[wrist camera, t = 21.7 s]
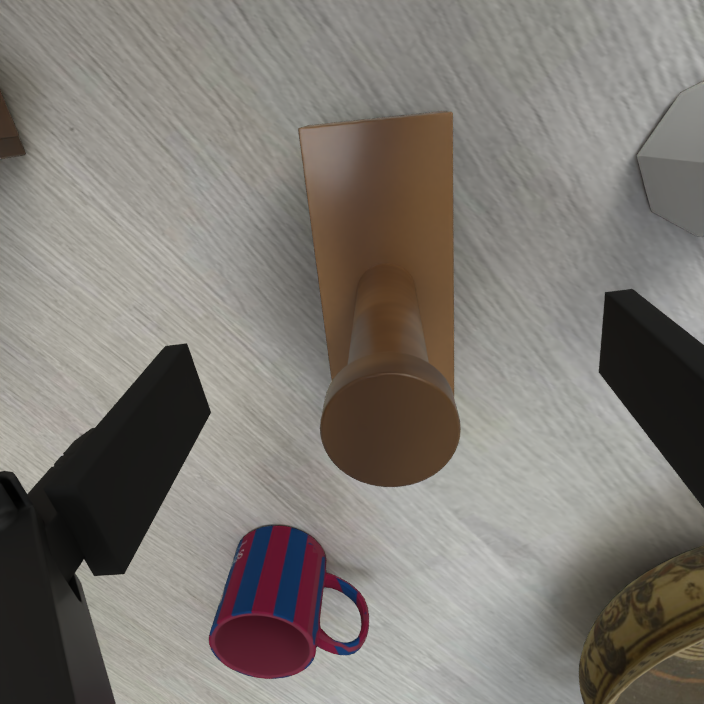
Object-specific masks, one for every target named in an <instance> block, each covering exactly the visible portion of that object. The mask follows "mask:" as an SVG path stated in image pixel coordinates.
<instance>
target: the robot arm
mask: <svg viewBox="0 0 704 704" xmlns="http://www.w3.org/2000/svg"><path fill="white" fill-rule="evenodd" d="M599 373H600V374H601V376H602V377H603V378H604V380H605V381H606V382H607V384H608V385H609V386H610V387H611V389H612V390H613V391H614V393H615V394H616V395H617V396H618V398H619V399H620V400H621V402H622V403H623V404H624V406H625V407H626V408H627V409H628V411H629V412H630V413H631V415H632V416H633V417H634V418H635V420H636V421H637V422H638V424H639V425H640V426H641V428H642V429H643V430H644V431H645V433H646V434H647V435H648V437H649V438H650V439H651V440H652V442H653V443H654V444H655V446H656V447H657V448H658V450H659V451H660V452H661V453H662V455H663V456H664V457H665V459H666V460H667V461H668V462H669V464H670V465H671V466H672V468H673V469H674V470H675V472H676V473H677V474H678V475H679V477H680V478H681V479H682V481H683V482H684V483H685V485H686V486H687V487H688V488H689V490H690V491H691V492H692V494H693V495H694V496H695V497H696V499H697V500H698V501H699V503H700V504H701V505H702V507H703V508H704V345H703V344H702V343H700V342H699V341H698V340H697V339H695V338H694V337H693V336H692V335H690V334H689V333H688V332H686V331H685V330H684V329H683V328H681V327H680V326H679V325H678V324H676V323H675V322H674V321H672V320H671V319H670V318H669V317H667V316H666V315H665V314H664V313H662V312H661V311H660V310H659V309H657V308H656V307H655V306H653V305H652V304H651V303H650V302H648V301H647V300H646V299H645V298H643V297H642V296H641V295H639V294H638V293H637V292H636V291H634V290H633V289H628V290H620V291H612V292H605V301H604V314H603V326H602V338H601V350H600V363H599ZM210 413H211V411H210V408H209V405H208V402H207V399H206V397H205V394H204V391H203V388H202V385H201V382H200V379H199V376H198V374H197V371H196V368H195V365H194V362H193V359H192V356H191V353H190V351H189V348H188V345H187V344H179V345H170V346H165V347H164V348H163V349H162V350H161V352H160V353H159V354H158V355H157V356H156V357H155V359H154V360H153V361H152V362H151V363H150V364H149V366H148V367H147V368H146V369H145V370H144V371H143V373H142V374H141V375H140V376H139V377H138V378H137V380H136V381H135V382H134V383H133V384H132V385H131V387H130V388H129V389H128V390H127V391H126V392H125V394H124V395H123V396H122V397H121V398H120V399H119V401H118V402H117V403H116V404H115V405H114V406H113V408H112V409H111V410H110V411H109V412H108V413H107V415H106V416H105V417H104V418H103V419H102V420H101V422H100V423H99V424H98V425H97V426H96V427H95V428H92V429H90V430H89V431H87V432H86V433H85V434H83V435H82V436H80V437H79V438H78V439H76V440H75V441H74V442H73V443H72V444H71V445H70V447H69V448H68V449H67V450H66V451H65V452H64V453H63V454H64V456H61V457H60V458H59V459H58V460H57V461H56V462H55V464H54V467H51V468H50V469H49V470H48V471H47V473H46V474H45V475H44V476H43V477H42V478H41V479H40V480H39V482H38V483H37V484H36V485H35V486H34V487H33V488H32V490H31V491H30V492H29V493H28V494H27V493H26V492H25V490H24V488H23V487H22V485H21V483H20V482H19V480H18V478H17V477H16V476H15V474H14V473H13V472H8V471H2V472H0V704H115V700H114V696H113V693H112V689H111V686H110V682H109V679H108V675H107V672H106V668H105V665H104V661H103V658H102V654H101V651H100V647H99V644H98V640H97V637H96V633H95V630H94V626H93V623H92V619H91V616H90V612H89V609H88V605H87V602H86V598H85V595H84V591H83V588H82V584H81V582H80V580H79V579H78V577H77V575H76V574H75V572H76V570H77V569H78V567H79V566H80V564H81V563H82V561H83V559H85V561H86V563H87V565H88V566H89V568H90V570H91V571H92V573H93V575H94V576H102V575H117V574H125V572H126V570H127V568H128V566H129V564H130V562H131V560H132V559H133V557H134V555H135V553H136V551H137V549H138V547H139V546H140V544H141V542H142V540H143V538H144V536H145V534H146V533H147V531H148V529H149V527H150V525H151V523H152V521H153V520H154V518H155V516H156V514H157V512H158V510H159V508H160V506H161V505H162V503H163V501H164V499H165V497H166V495H167V493H168V492H169V490H170V488H171V486H172V484H173V482H174V480H175V479H176V477H177V475H178V473H179V471H180V469H181V467H182V466H183V464H184V462H185V460H186V458H187V456H188V454H189V452H190V451H191V449H192V447H193V445H194V443H195V441H196V439H197V438H198V436H199V434H200V432H201V430H202V428H203V426H204V425H205V423H206V421H207V419H208V417H209V415H210Z"/></svg>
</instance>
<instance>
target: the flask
mask: <svg viewBox="0 0 704 704" xmlns="http://www.w3.org/2000/svg"><path fill="white" fill-rule="evenodd" d="M637 158H638V162H639V166H640V170H641V174H642V177H643V181H644V185H645V189H646V193H647V197H648V200H649V204H650V208H651V211H652V212H654V213H655V214H657V215H659V216H661V217H663V218H665V219H666V220H668V221H670V222H672V223H674V224H675V225H677V226H679V227H681V228H683V229H685V230H686V231H688V232H690V233H692V234H694V235H696V236H697V237H701V236H704V81H703V82H701V83H699V84H697V85H695V86H693V87H691V88H689V89H687V90H685V91H683V92H681V93H680V94H679V96H678V97H677V98H676V100H675V101H674V103H673V104H672V106H671V107H670V108H669V110H668V111H667V113H666V114H665V116H664V117H663V119H662V120H661V121H660V123H659V124H658V126H657V127H656V129H655V130H654V131H653V133H652V134H651V136H650V137H649V139H648V140H647V142H646V143H645V144H644V146H643V147H642V149H641V150H640V152H639V153H638V154H637Z"/></svg>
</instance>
